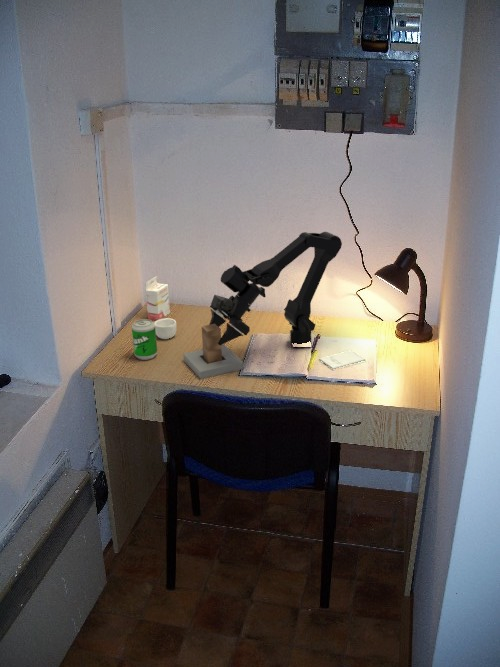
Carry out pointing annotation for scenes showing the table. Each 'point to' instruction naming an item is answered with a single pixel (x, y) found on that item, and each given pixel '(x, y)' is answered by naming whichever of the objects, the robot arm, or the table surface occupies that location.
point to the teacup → (165, 328)
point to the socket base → (212, 369)
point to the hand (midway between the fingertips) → (213, 339)
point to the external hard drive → (342, 359)
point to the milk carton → (157, 299)
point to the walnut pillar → (211, 343)
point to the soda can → (144, 339)
